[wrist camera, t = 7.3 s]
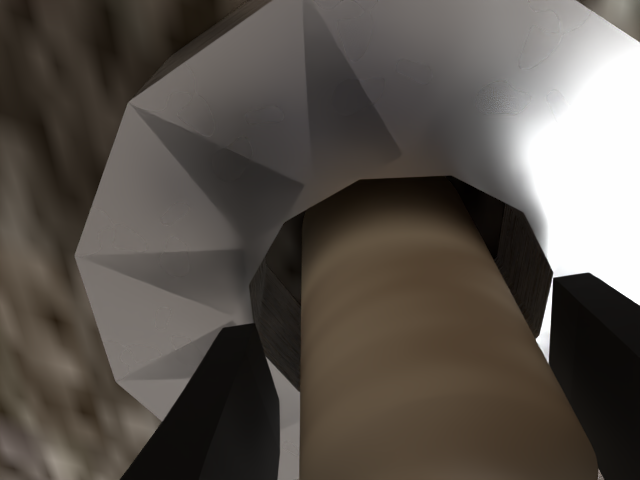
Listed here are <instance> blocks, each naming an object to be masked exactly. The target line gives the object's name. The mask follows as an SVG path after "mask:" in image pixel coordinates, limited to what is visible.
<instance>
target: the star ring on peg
mask: <svg viewBox="0 0 640 480" xmlns="http://www.w3.org/2000/svg"><path fill="white" fill-rule="evenodd" d="M449 175H452V176H454V177H456V178H457V179H459V180H461V181H463V182H465V183H467V184H469V185H471V186H473V187H475V188H477V189H479V190H481V191H483V192H485V193H487V194H489V195H491V196H493V197H495V198H497V199H499V200H501V201H503V202H505V206H504V212H503V219H502V225H501V232H500V238H499V245H498V251H497V256H496V257H495V258H494V259H493V260H494V262H495V263H496V265H497V267H498V269H499V271H500V273H501V275H502V277H503V279H504V280H505V282H506V284H507V286H508V288H509V290H510V292H511V294H512V296H513V297H514V299H515V301H516V303H517V305H518V307H519V309H520V311H521V313H522V314H523V316H524V318H525V320H526V322H527V324H528V326H529V328H530V330H531V331H532V333H533V335H534V337H535V339H536V341H537V343H538V345H539V347H540V348H541V350H542V352H543V354H544V356H545V358H546V360H547V362H548V364H549V344H550V325H551V307H552V288H553V278H554V277H560V276H567V275H574V274H580V273H587V272H589V273H591V274H593V275H594V276H596V277H597V278H599V279H601V280H602V281H604V282H605V283H607V284H608V285H610V286H611V287H613V288H615V289H616V290H618V291H619V292H621V293H622V294H624V295H625V296H627V297H628V298H630V299H631V300H633V301H634V302H636V303H637V304H639V305H640V42H638V41H637V40H635V39H634V38H632V37H631V36H629V35H628V34H626V33H625V32H623V31H622V30H620V29H619V28H617V27H616V26H614V25H612V24H611V23H609V22H608V21H606V20H605V19H603V18H602V17H600V16H599V15H597V14H596V13H594V12H593V11H591V10H590V9H588V8H587V7H585V6H584V5H582V4H580V3H579V2H577V1H576V0H249V1H247V2H246V3H244V4H243V5H242V6H240V7H239V8H237V9H236V10H235V11H233V12H232V13H230V14H229V15H228V16H226V17H225V18H223V19H222V20H221V21H219V22H218V23H216V24H215V25H214V26H212V27H211V28H209V29H208V30H207V31H205V32H204V33H202V34H201V35H200V36H198V37H197V38H195V39H194V40H193V41H191V42H190V43H188V44H187V45H186V46H184V47H183V48H181V49H180V50H179V51H177V52H176V53H174V54H173V55H172V56H170V57H169V58H168V59H167V61H166V62H165V63H164V64H163V65H162V66H161V67H160V68H159V69H158V70H157V71H156V72H155V74H154V75H153V76H152V77H151V78H150V79H149V80H148V81H147V82H146V83H145V84H144V86H143V87H142V88H141V89H140V90H139V91H138V92H137V93H136V94H135V95H134V96H133V97H132V99H131V100H130V101H129V102H128V104H127V107H126V110H125V112H124V115H123V118H122V121H121V124H120V127H119V130H118V132H117V135H116V138H115V141H114V144H113V147H112V150H111V152H110V155H109V158H108V161H107V164H106V167H105V170H104V172H103V175H102V178H101V181H100V184H99V187H98V190H97V192H96V195H95V198H94V201H93V204H92V207H91V210H90V212H89V215H88V218H87V221H86V224H85V227H84V230H83V232H82V235H81V238H80V241H79V244H78V247H77V250H76V252H75V259H76V262H77V265H78V268H79V271H80V274H81V278H82V281H83V284H84V287H85V290H86V293H87V296H88V299H89V302H90V305H91V308H92V311H93V314H94V317H95V320H96V323H97V326H98V329H99V332H100V336H101V339H102V342H103V345H104V348H105V351H106V354H107V357H108V360H109V363H110V366H111V369H112V372H113V375H114V378H115V381H116V382H117V383H118V384H119V385H120V386H121V387H122V388H124V389H125V390H126V391H127V392H128V393H129V394H131V395H132V396H133V397H134V398H135V399H136V400H138V401H139V402H140V403H141V404H142V405H143V406H145V407H146V408H147V409H148V410H149V411H150V412H152V413H153V414H154V415H155V416H156V417H157V418H159V419H160V420H161V421H163V420H164V418H165V417H166V415H167V414H168V412H169V411H170V409H171V408H172V406H173V405H174V403H175V402H176V400H177V399H178V397H179V396H180V394H181V393H182V391H183V390H184V388H185V387H186V385H187V383H188V382H189V380H190V379H191V377H192V375H193V374H194V372H195V371H196V369H197V368H198V366H199V364H200V363H201V361H202V359H203V358H204V356H205V355H206V353H207V351H208V350H209V348H210V346H211V345H212V343H213V341H214V340H215V338H216V337H217V335H218V333H219V332H220V331H221V330H222V328H224V327H231V326H237V325H244V324H250V323H255V324H256V327H257V330H258V334H259V337H260V340H261V343H262V346H263V349H264V353H265V356H266V359H267V362H268V365H269V369H270V372H271V375H272V378H273V381H274V384H275V388H276V391H277V394H278V397H279V402H280V459H279V469H278V479H277V480H299V446H300V362H301V306H300V304H299V303H298V302H297V301H296V300H295V298H294V297H293V296H292V295H291V294H290V292H289V291H288V290H287V289H286V288H285V286H284V285H283V284H282V283H281V282H280V280H279V279H278V278H277V277H276V276H275V274H274V273H273V272H272V271H271V270H270V268H269V267H268V266H267V265H266V256H265V255H266V254H267V252H268V250H269V248H270V246H271V245H272V243H273V241H274V239H275V238H276V236H277V234H278V232H279V230H280V229H281V227H282V225H283V223H284V222H286V221H287V220H289V219H291V218H293V217H294V216H296V215H298V214H300V213H301V212H303V211H305V210H307V209H308V208H310V207H312V206H314V205H315V204H317V203H319V202H321V201H323V200H324V199H326V198H328V197H330V196H331V195H333V194H335V193H337V192H338V191H340V190H342V189H344V188H345V187H347V186H349V185H351V184H352V183H354V182H356V181H358V180H359V179H378V178H402V177H425V176H449Z"/></svg>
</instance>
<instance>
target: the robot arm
mask: <svg viewBox="0 0 640 480" xmlns="http://www.w3.org/2000/svg"><path fill="white" fill-rule="evenodd" d="M549 365H550V367H551V369H552V371H553V373H554V375H555V377H556V379H557V381H558V382H559V384H560V386H561V388H562V390H563V392H564V394H565V396H566V398H567V399H568V401H569V403H570V405H571V407H572V409H573V411H574V413H575V415H576V416H577V418H578V420H579V422H580V424H581V426H582V428H583V430H584V431H585V433H586V435H587V437H588V439H589V441H590V443H591V445H592V447H593V450H594V452H595V454H596V458H597V464H598V468H599V470H600V472H601V474H602V476H603V477H604V479H605V480H640V305H639V304H637V303H636V302H634V301H633V300H631V299H630V298H628V297H627V296H625V295H624V294H622V293H621V292H619V291H618V290H616V289H615V288H613V287H611V286H610V285H608V284H607V283H605V282H604V281H602V280H601V279H599V278H597V277H596V276H594V275H593V274H591V273H589V272H587V273H580V274H574V275H567V276H560V277H554V278H553V288H552V307H551V325H550V344H549ZM279 459H280V402H279V397H278V394H277V391H276V388H275V384H274V381H273V378H272V375H271V372H270V369H269V365H268V362H267V359H266V356H265V353H264V349H263V346H262V343H261V340H260V337H259V334H258V330H257V327H256V324H255V323H250V324H244V325H237V326H231V327H224V328H222V330H221V331H220V332H219V333H218V335H217V337H216V338H215V340H214V341H213V343H212V345H211V346H210V348H209V350H208V351H207V353H206V355H205V356H204V358H203V359H202V361H201V363H200V364H199V366H198V368H197V369H196V371H195V372H194V374H193V375H192V377H191V379H190V380H189V382H188V383H187V385H186V387H185V388H184V390H183V391H182V393H181V394H180V396H179V397H178V399H177V400H176V402H175V403H174V405H173V406H172V408H171V409H170V411H169V412H168V414H167V415H166V417H165V418H164V420H163V421H162V423H161V424H160V426H159V427H158V428H157V430H156V431H155V433H154V434H153V435H152V437H151V438H150V440H149V441H148V442H147V444H146V445H145V446H144V448H143V449H142V450H141V452H140V453H139V455H138V456H137V457H136V459H135V460H134V461H133V463H132V464H131V465H130V467H129V468H128V470H127V471H126V472H125V473H124V475H123V476H122V477H121V479H120V480H277V479H278V469H279Z"/></svg>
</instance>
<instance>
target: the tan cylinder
mask: <svg viewBox="0 0 640 480" xmlns="http://www.w3.org/2000/svg"><path fill="white" fill-rule="evenodd" d="M299 480H598V464H597V458H596V454H595V452H594V450H593V447H592V445H591V443H590V441H589V439H588V437H587V435H586V433H585V431H584V430H583V428H582V426H581V424H580V422H579V420H578V418H577V416H576V415H575V413H574V411H573V409H572V407H571V405H570V403H569V401H568V399H567V398H566V396H565V394H564V392H563V390H562V388H561V386H560V384H559V382H558V381H557V379H556V377H555V375H554V373H553V371H552V369H551V367H550V365H549V364H548V362H547V360H546V358H545V356H544V354H543V352H542V350H541V348H540V347H539V345H538V343H537V341H536V339H535V337H534V335H533V333H532V331H531V330H530V328H529V326H528V324H527V322H526V320H525V318H524V316H523V314H522V313H521V311H520V309H519V307H518V305H517V303H516V301H515V299H514V297H513V296H512V294H511V292H510V290H509V288H508V286H507V284H506V282H505V280H504V279H503V277H502V275H501V273H500V271H499V269H498V267H497V265H496V263H495V262H494V260H493V258H492V256H491V254H490V252H489V250H488V248H487V246H486V245H485V243H484V241H483V239H482V237H481V235H480V233H479V231H478V229H477V228H476V226H475V224H474V222H473V220H472V218H471V216H470V214H469V212H468V211H467V209H466V207H465V205H464V203H463V201H462V199H461V197H460V195H459V194H458V192H457V191H456V189H455V187H454V186H453V185H452V184H451V182H450V181H449V180H448V179H447V178H446V177H445V176H425V177H402V178H378V179H359V180H358V181H356V182H354V183H352V184H351V185H349V186H347V187H345V188H344V189H342V190H340V191H338V192H337V193H335V194H333V195H331V196H330V197H328V198H326V199H324V200H323V201H321V202H319V203H317V204H315V205H314V206H312V207H310V208H308V209H307V210H306V212H305V215H304V219H303V225H302V278H301V362H300V446H299Z"/></svg>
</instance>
